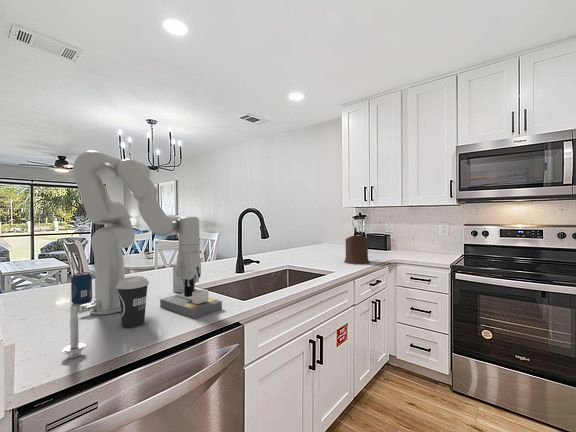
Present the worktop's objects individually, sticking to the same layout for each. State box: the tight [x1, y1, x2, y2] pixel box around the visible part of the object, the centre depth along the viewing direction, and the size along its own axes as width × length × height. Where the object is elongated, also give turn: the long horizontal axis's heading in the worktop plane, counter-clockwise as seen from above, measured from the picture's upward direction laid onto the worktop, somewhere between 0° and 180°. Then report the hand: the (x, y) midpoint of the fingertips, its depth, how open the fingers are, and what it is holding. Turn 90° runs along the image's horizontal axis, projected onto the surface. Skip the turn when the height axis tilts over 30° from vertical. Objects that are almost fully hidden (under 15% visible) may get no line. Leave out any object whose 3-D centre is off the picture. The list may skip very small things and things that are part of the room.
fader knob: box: [192, 288, 209, 304], centre depth 105 cm, size 5×3×4 cm, turn 144°
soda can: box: [70, 271, 93, 306], centre depth 116 cm, size 7×7×12 cm
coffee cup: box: [116, 275, 150, 329], centre depth 93 cm, size 10×10×15 cm
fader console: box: [159, 292, 223, 320], centre depth 108 cm, size 12×22×3 cm, turn 54°
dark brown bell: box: [343, 226, 370, 266], centre depth 208 cm, size 18×24×25 cm
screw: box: [62, 305, 87, 359], centre depth 72 cm, size 13×5×5 cm
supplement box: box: [172, 263, 196, 293], centre depth 133 cm, size 7×7×13 cm
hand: (189, 295), depth 108 cm, fingers closed
